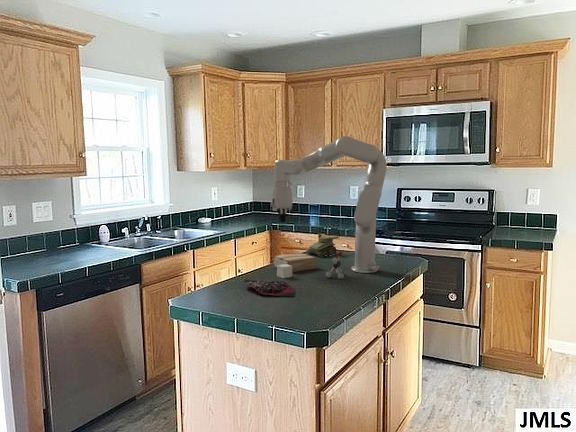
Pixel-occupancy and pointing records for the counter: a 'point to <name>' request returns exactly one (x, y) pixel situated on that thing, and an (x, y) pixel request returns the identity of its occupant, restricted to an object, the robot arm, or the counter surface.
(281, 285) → the fabric swatch
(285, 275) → the block
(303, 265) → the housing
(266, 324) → the counter surface
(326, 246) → the toy
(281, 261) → the tray
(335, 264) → the molecular model
